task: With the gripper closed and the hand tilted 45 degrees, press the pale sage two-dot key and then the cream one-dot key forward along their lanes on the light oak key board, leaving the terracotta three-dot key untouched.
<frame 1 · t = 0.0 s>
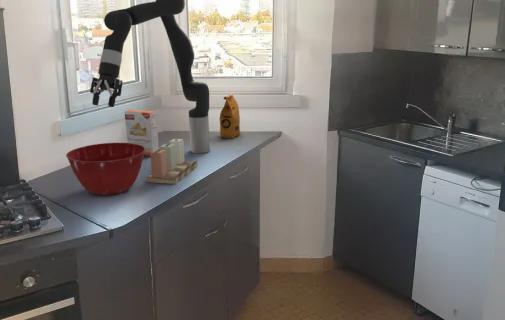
hand: (102, 105, 193), 31 cm above the counter, tool tilted 20°, fingers open, 8 cm apart
key board: (173, 174, 213), on the counter
cracker box: (143, 154, 245), on the counter
key 3: (158, 163, 203), point 7 cm above the counter, slide at 0.0 cm
key 2: (168, 156, 211), point 7 cm above the counter, slide at 0.0 cm
key 1: (177, 151, 220), point 7 cm above the counter, slide at 0.0 cm
mixing bowl: (110, 190, 196), on the counter
coffee package: (230, 136, 277), on the counter
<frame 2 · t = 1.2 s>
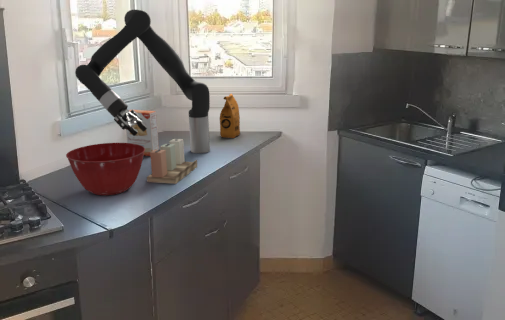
hand: (140, 132, 211), 17 cm above the counter, tool tilted 45°, fingers open, 8 cm apart
nothing on the counter moved.
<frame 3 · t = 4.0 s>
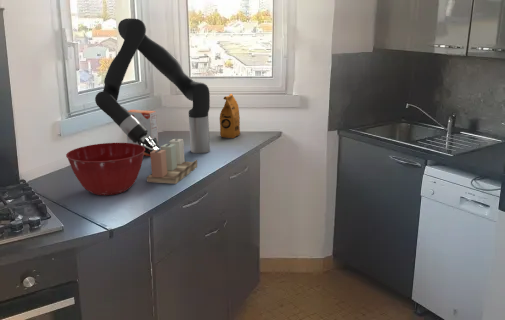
hand: (162, 158, 212), 6 cm above the counter, tool tilted 45°, fingers closed
key 2: (168, 156, 211), point 7 cm above the counter, slide at 0.2 cm, touching gripper
everything else where it was.
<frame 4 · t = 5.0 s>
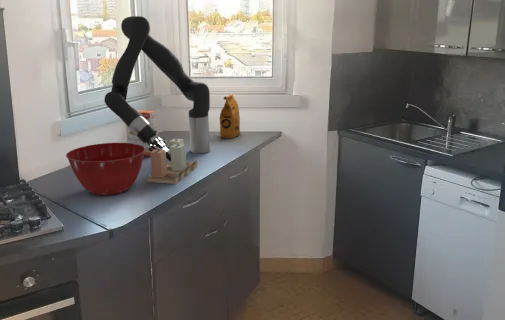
hand: (172, 159, 211), 6 cm above the counter, tool tilted 45°, fingers closed
key 2: (178, 157, 210), point 7 cm above the counter, slide at 4.5 cm, touching gripper
everything else where it was.
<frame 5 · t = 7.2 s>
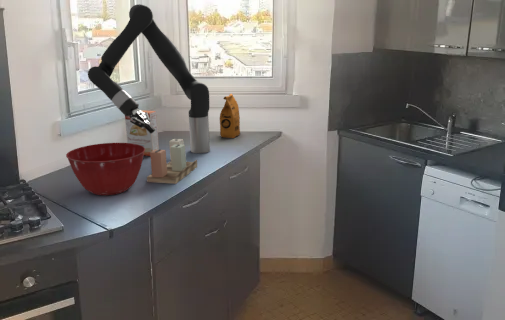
hand: (153, 131, 220), 15 cm above the counter, tool tilted 45°, fingers closed
key 2: (178, 157, 210), point 7 cm above the counter, slide at 4.5 cm
everything else where it was.
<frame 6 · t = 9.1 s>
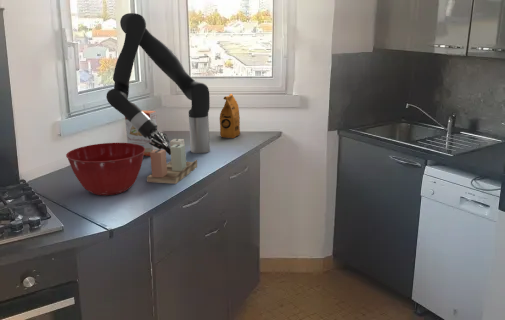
hand: (172, 153, 221), 6 cm above the counter, tool tilted 45°, fingers closed
key 1: (177, 151, 220), point 7 cm above the counter, slide at 0.4 cm, touching gripper
everything else where it was.
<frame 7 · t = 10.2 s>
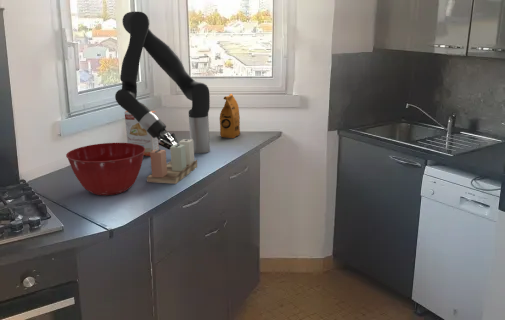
hand: (180, 153, 220), 6 cm above the counter, tool tilted 45°, fingers closed
key 1: (186, 151, 219), point 7 cm above the counter, slide at 4.6 cm, touching gripper
everything else where it was.
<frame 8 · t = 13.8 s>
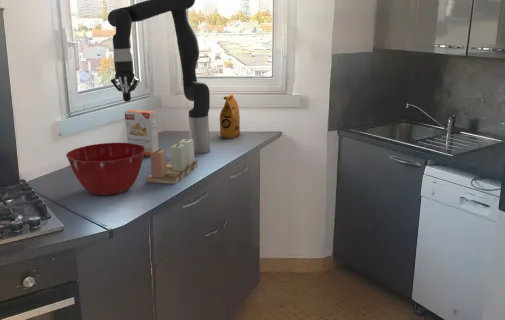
hand: (127, 101, 216), 29 cm above the counter, tool pointing down, fingers closed
key 1: (186, 151, 219), point 7 cm above the counter, slide at 4.6 cm
everything else where it was.
at the end: key 2 slide at 4.5 cm; key 1 slide at 4.6 cm; key 3 slide at 0.0 cm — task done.
